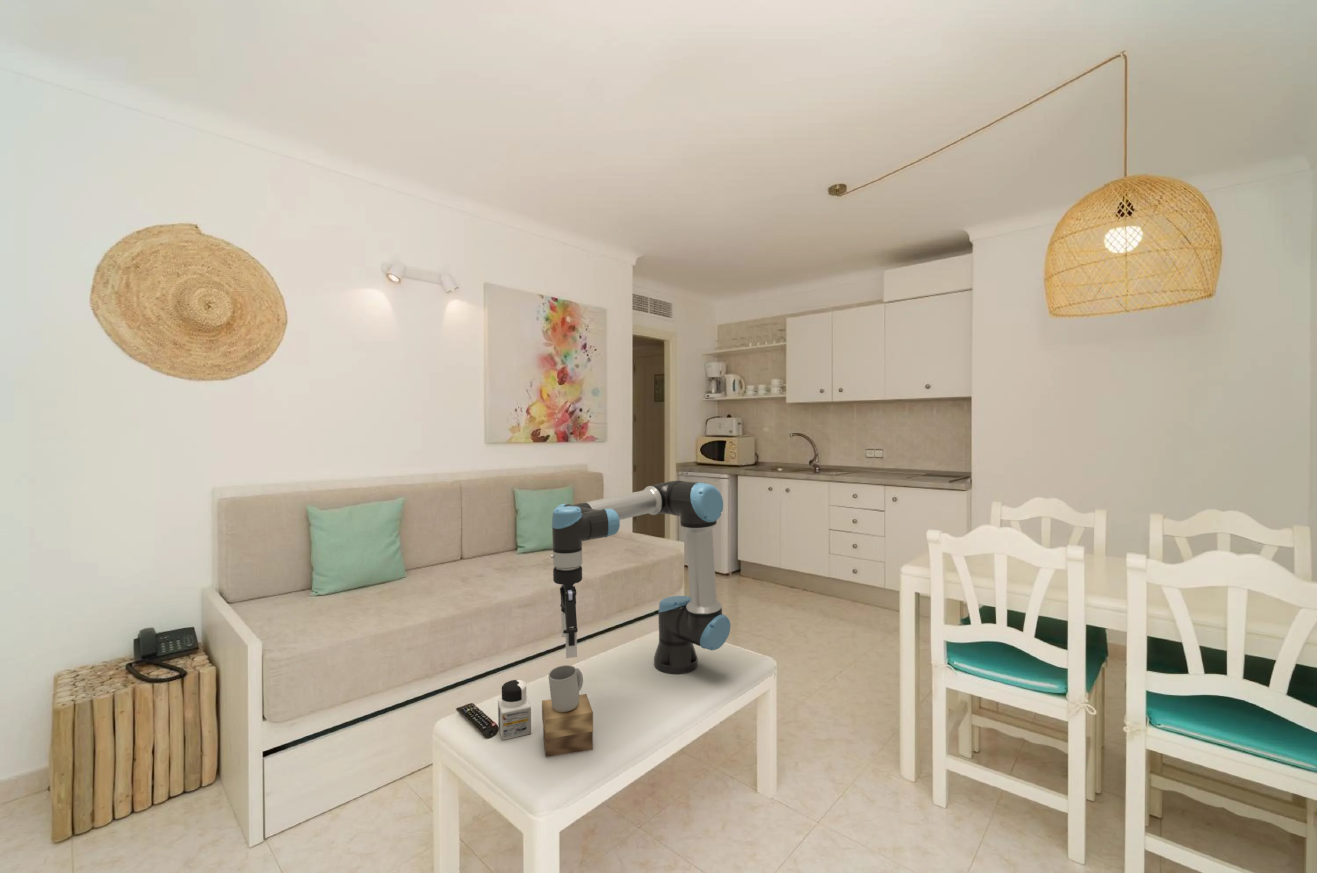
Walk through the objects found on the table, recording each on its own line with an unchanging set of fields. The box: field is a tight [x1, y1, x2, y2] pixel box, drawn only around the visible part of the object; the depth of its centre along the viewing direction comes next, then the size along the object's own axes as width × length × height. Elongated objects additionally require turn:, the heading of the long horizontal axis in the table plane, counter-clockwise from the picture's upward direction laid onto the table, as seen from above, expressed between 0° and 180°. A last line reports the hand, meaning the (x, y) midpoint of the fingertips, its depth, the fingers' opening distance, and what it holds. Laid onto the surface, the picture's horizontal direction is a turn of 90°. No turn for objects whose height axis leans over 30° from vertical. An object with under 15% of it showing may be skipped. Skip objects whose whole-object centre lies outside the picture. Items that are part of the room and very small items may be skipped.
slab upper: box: [541, 693, 594, 739], centre depth 146 cm, size 12×10×5 cm
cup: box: [548, 664, 584, 712], centre depth 146 cm, size 7×10×9 cm
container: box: [497, 679, 532, 741], centre depth 152 cm, size 8×8×13 cm
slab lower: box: [542, 727, 594, 758], centre depth 146 cm, size 12×10×5 cm
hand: (569, 646), depth 146 cm, fingers open, 13 cm apart
